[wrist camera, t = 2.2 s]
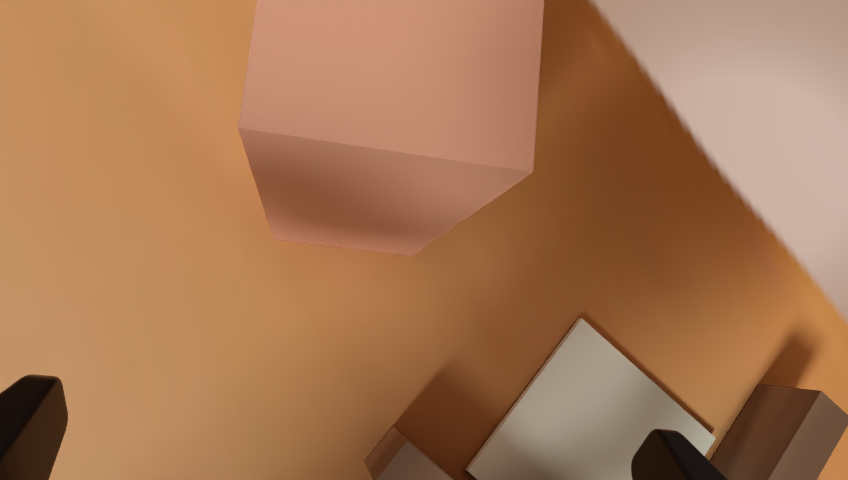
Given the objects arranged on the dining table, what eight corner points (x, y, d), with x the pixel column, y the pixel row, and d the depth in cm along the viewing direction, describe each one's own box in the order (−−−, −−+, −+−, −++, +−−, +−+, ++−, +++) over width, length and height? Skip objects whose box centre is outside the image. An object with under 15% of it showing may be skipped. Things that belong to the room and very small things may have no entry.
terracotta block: (273, 239, 21) (237, 127, 10) (292, 101, 22) (280, -156, 10) (412, 256, 22) (532, 172, 10) (425, 122, 23) (549, -92, 11)
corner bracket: (364, 460, 21) (374, 482, 18) (566, 209, 24) (602, 192, 21) (619, 679, 21) (669, 734, 18) (785, 408, 24) (851, 418, 21)
